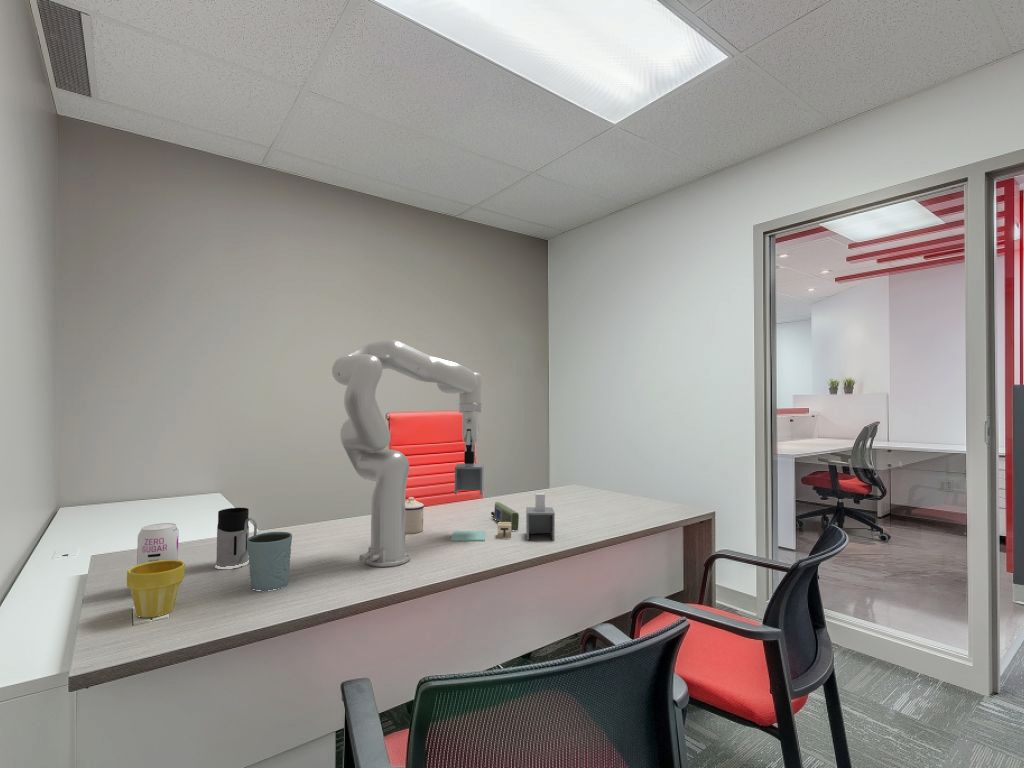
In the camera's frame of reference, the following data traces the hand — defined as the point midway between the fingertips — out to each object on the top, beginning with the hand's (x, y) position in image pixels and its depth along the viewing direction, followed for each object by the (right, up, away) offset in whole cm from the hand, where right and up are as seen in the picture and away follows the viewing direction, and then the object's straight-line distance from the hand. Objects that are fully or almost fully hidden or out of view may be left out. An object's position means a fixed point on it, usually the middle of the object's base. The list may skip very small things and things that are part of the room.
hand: (469, 462), depth 174 cm
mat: (0, -25, -1) cm, 25 cm away
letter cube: (+12, -25, -1) cm, 28 cm away
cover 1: (0, -10, 0) cm, 10 cm away
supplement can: (-72, -23, -49) cm, 90 cm away
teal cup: (-46, -24, -47) cm, 70 cm away
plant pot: (-63, -23, -63) cm, 92 cm away
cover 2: (+24, -25, -1) cm, 35 cm away
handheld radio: (+11, -26, +19) cm, 34 cm away
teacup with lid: (-22, -25, +7) cm, 34 cm away
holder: (-61, -24, -32) cm, 73 cm away
